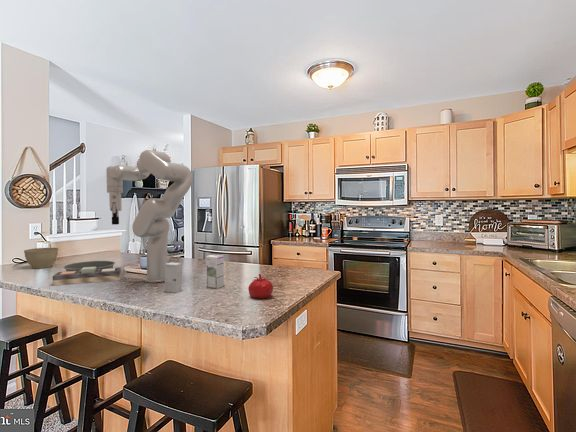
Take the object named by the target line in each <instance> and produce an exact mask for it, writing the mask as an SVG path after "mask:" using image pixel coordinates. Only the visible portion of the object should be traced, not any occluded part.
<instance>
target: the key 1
mask: <svg viewBox="0 0 576 432" xmlns="http://www.w3.org/2000/svg"><path fill="white" fill-rule="evenodd" d="M61 272H62V273H61V274H60V275H67V274H76V271H70V272H65V271H61Z"/></svg>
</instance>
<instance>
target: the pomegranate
mask: <svg viewBox="0 0 576 432" xmlns="http://www.w3.org/2000/svg"><path fill="white" fill-rule="evenodd" d="M253 278H254V279H252V281H251V283H249V285H248V287H247V289H248V294H249V296H250V297H251V298H252V299H253V298H254V299H261V298H263V299H267V298H269V297H270V296H271V295H272V293H273V291H274V285H273V283H272V282H271V281H270V280H268V277H264V276H262V274H261V273H259V274H258V277H257V276H255V277H253Z"/></svg>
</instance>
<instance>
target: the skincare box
mask: <svg viewBox="0 0 576 432" xmlns="http://www.w3.org/2000/svg"><path fill="white" fill-rule="evenodd" d="M182 287H183V263H182V262H172V261H171V262H167V264H165V281H164V292H165V293H166V292H167V293H174V294H176V293H178V292H181V291H183V290H182Z"/></svg>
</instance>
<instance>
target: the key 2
mask: <svg viewBox="0 0 576 432" xmlns="http://www.w3.org/2000/svg"><path fill="white" fill-rule="evenodd" d="M115 268H116V267H113V268H112V269H103V270H102V271H101V272H108V271H116V270H115Z"/></svg>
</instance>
